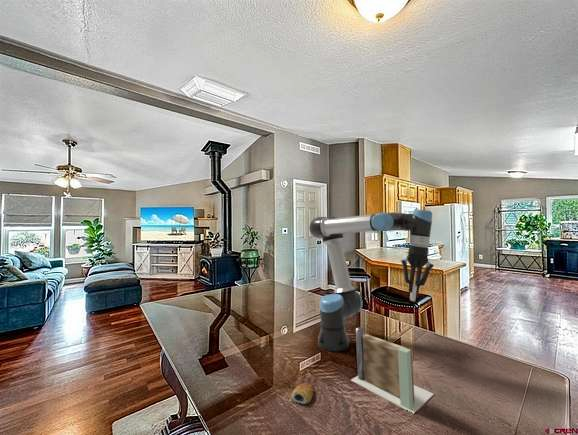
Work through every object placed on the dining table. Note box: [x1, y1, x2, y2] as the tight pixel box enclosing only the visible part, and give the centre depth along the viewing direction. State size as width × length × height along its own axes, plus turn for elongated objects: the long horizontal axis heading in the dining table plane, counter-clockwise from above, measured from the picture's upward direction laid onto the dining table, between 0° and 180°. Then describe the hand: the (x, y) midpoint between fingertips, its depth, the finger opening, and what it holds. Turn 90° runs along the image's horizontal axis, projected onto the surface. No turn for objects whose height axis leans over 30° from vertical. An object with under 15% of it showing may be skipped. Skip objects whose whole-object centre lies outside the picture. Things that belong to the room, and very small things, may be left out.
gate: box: [363, 333, 415, 403], centre depth 93 cm, size 18×2×17 cm, turn 38°
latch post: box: [398, 346, 413, 410], centre depth 85 cm, size 3×2×18 cm
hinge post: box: [355, 326, 365, 380], centre depth 101 cm, size 3×3×19 cm
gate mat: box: [350, 375, 435, 415], centre depth 95 cm, size 24×14×1 cm, turn 39°
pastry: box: [290, 382, 314, 405], centre depth 92 cm, size 9×7×4 cm
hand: (412, 300), depth 113 cm, fingers closed
